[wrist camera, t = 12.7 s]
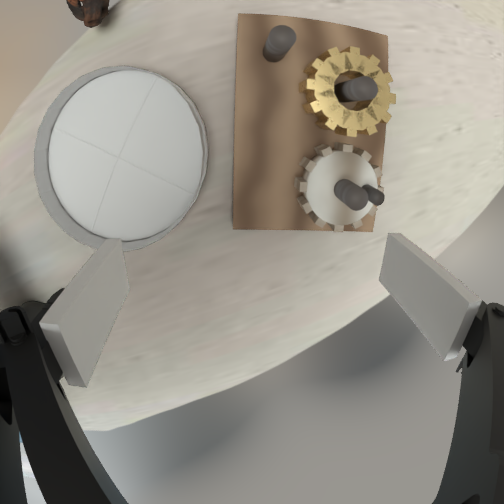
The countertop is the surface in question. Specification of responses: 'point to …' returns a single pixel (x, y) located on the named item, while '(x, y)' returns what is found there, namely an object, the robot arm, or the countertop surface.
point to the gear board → (301, 131)
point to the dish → (120, 157)
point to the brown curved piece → (89, 11)
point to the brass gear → (326, 103)
